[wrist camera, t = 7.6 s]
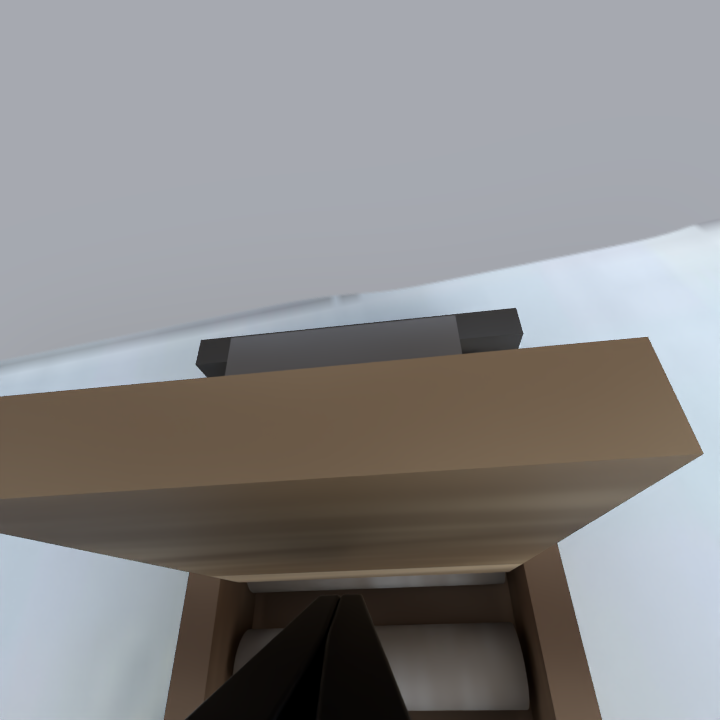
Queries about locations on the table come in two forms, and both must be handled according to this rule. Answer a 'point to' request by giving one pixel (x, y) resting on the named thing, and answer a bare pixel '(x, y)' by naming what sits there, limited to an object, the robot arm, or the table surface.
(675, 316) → the table surface
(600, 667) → the table surface
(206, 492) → the slab
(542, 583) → the roller track
